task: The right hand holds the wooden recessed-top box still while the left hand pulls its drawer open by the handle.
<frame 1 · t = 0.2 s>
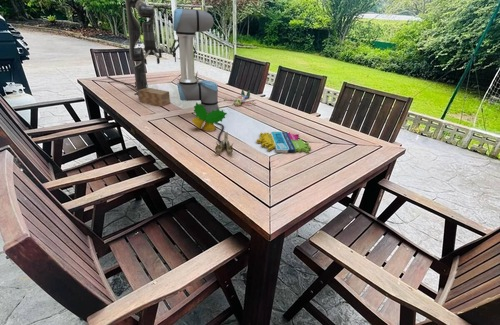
left hand: (152, 64, 188), 29 cm above the table, tool pointing down, fingers open, 8 cm apart
right hand: (184, 61, 211), 28 cm above the table, tool pointing down, fingers open, 13 cm apart
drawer: (149, 95, 204), point 5 cm above the table, slide at 0.8 cm
jawbone: (224, 151, 138), on the table
airplane: (192, 86, 257), on the table
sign: (281, 143, 152), on the table
wooden recessed-top box: (155, 102, 204), on the table
toy: (241, 101, 221), on the table
ornament: (209, 128, 165), on the table
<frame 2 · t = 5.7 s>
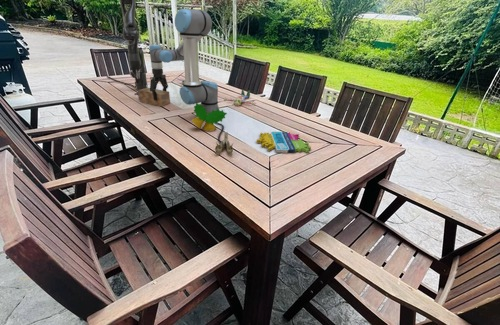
left hand: (137, 83, 203), 13 cm above the table, tool pointing down, fingers closed
right hand: (160, 98, 200), 4 cm above the table, tool pointing down, fingers closed on wooden recessed-top box, 10 cm apart
wooden recessed-top box: (155, 102, 204), on the table, touching right hand
everything else where it was.
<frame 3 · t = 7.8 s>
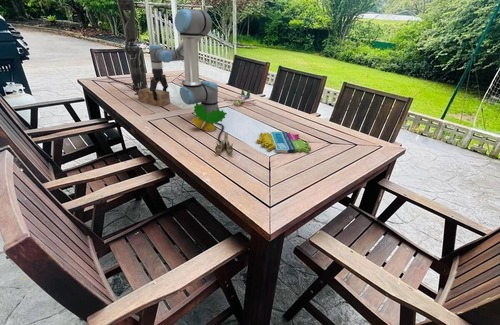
left hand: (139, 95, 208), 3 cm above the table, tool pointing down, fingers closed
right hand: (160, 98, 200), 4 cm above the table, tool pointing down, fingers closed on wooden recessed-top box, 10 cm apart
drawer: (149, 95, 204), point 5 cm above the table, slide at 0.9 cm, touching left hand
wooden recessed-top box: (155, 102, 204), on the table, touching right hand
everything else where it was.
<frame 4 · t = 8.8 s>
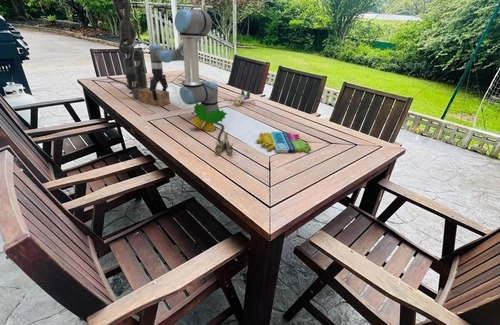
left hand: (133, 94, 209), 3 cm above the table, tool pointing down, fingers closed
right hand: (160, 98, 200), 4 cm above the table, tool pointing down, fingers closed on wooden recessed-top box, 10 cm apart
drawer: (143, 94, 205), point 5 cm above the table, slide at 6.2 cm, touching left hand
wooden recessed-top box: (155, 102, 204), on the table, touching right hand
everything else where it was.
when the right hand's fingers open (4 cm above the table, at t = 10.4 s): wooden recessed-top box stays where it is, on the table.
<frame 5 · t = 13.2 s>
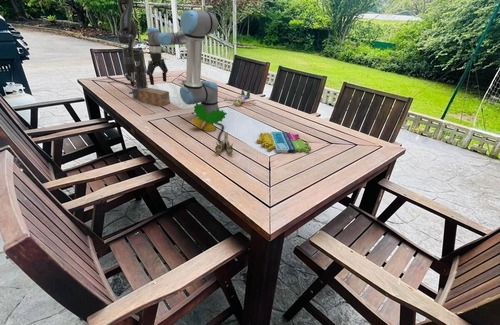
left hand: (133, 85, 206), 10 cm above the table, tool pointing down, fingers closed
right hand: (158, 83, 195), 16 cm above the table, tool pointing down, fingers open, 13 cm apart
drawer: (143, 94, 205), point 5 cm above the table, slide at 6.2 cm
wooden recessed-top box: (155, 102, 204), on the table
everything else where it was.
at the end: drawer slide at 6.2 cm; wooden recessed-top box tilted 0°; wooden recessed-top box never tilted more than 2° during the clip; wooden recessed-top box moved 0.3 cm from its start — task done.
